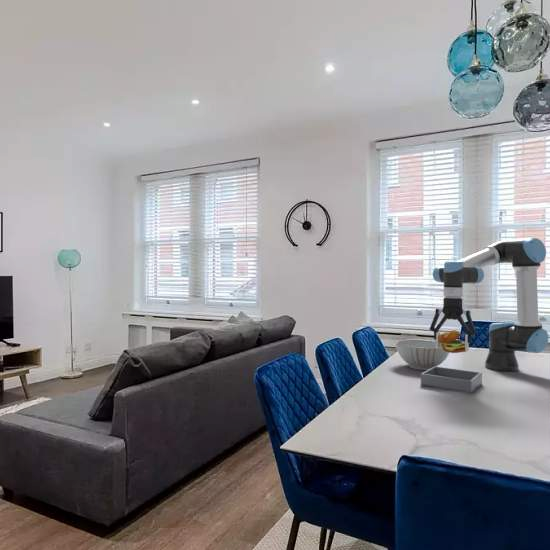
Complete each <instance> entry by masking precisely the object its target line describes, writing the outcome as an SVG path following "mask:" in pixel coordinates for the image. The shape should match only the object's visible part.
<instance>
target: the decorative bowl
mask: <svg viewBox="0 0 550 550" xmlns="http://www.w3.org/2000/svg"><path fill="white" fill-rule="evenodd" d="M395 349H396V350H397V353H398V355H399V356H400V358H401V359H402V360H403V361H404V362H405V363H407V365H409V368H411V369H414V370H420V371H427V370H429V369H431V368H432V367H434V366H436V367H439V365H441V364H442V363H444V362H445V361H446V359H447V358H448V356H450V355H449V354H450V352H446V351H444V350H443V348H442V347H441V343H440V347H439V348H436V340H429V339H401V340H399V339H398V340H397V341H395Z"/></svg>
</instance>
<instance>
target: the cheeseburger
mask: <svg viewBox="0 0 550 550" xmlns="http://www.w3.org/2000/svg"><path fill="white" fill-rule="evenodd" d="M461 336H462V335H461V333H460V332H459V331H458V330H454V329H453V330H451V331H448V332H447V331H446V332H443V333H440V335H439V338H438V341H439V343H441V347H442V348H443V350H444V351H446V352H450V353H451V354H459V353H467V351H465V341H462V339H459V338H460V337H461ZM450 353H449V354H450Z"/></svg>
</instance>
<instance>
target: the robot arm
mask: <svg viewBox="0 0 550 550" xmlns="http://www.w3.org/2000/svg"><path fill="white" fill-rule="evenodd" d="M546 257H547V249H546V246H545V244H544V243H543V241H542V240H541V239H539V238H537V237H524V238H522V237H521V238H507V239H503V240H500V241H497V242H494V243H492V244H490V245H487V246H485V247H483V248H482V250H480V251H478V252H476V253H473V254H471V255H469V256H467V257H465V258H461V259H460V260H455V261H453V260H451V261H450V260H447V261H445V262H444V264H443V266H442V265H440V266H436V267H434V268H433V271H432V277H433V280H434V281H435V282H437V283H443V297H444V298H443V301H442V302H443V303H442V305H443V307H442V308H436V309H435V310H434V311H435V314H434V317H433V319H432V320H431V321H432V322H431V324H430V327H429V330H430V331H432V332H433V340H434V341H436V348H439V347H440V343H439V341H438V338H439V335H440V334H441V332H440V330H441V327H443V325H444V324H445V323H446V321H447V320H455V321H456V320H457V321H458V322H459V325H460V326H461V327H462V328H463V330H464V331H465V333H466V335H465V337H464V340H465V341H464V342H465V351H466V352H468V351H470V349H469V348H470V347H469V346H470V345H469V344H471V343H472V336H473V335H475V334H477V330H476V327H475V324H474V321H473V319H472V316H471V310H469V309H468V310H464V308H463V298H462V297H463V296H464V295H463V293H464V292H463V290H464V288H463V287H464V286H463V285H464V284H480V283H482V281H483V280H484V277H485V273H484V270H483V268H485V267H487V266H489V265H490V266H495V265H497V264H509V263H510V264H511V265H512V266H511V268H513V269H514V270H515V275H516V276H515V277H516V278H515V279H516V281H515V283H516V309H517V310H516V311H517V314H516V315H517V320H516V321H515V322H492V323H491V324H489V329H488V339H489V340H488V354H487V356H486V358H485V361H484V368H486V369H489V370H494V371H501V372H517V371H519V368H520V366H519V363H518V359H517V357H516V354H515V353H516V351H521V352H525V353H526V352H527V353H528V354H529V353H531V354H540V353H541V352H543V351H544V350H545V349H546V347H547V345H548V344H549V333H548V331H547V330H546V329H544V328H543V323H541V322H540V321H539V306H538V305H539V301H538V300H539V299H538V298H539V296H538V269H540V267H541V263H543V262H544V261H545V260H546ZM441 314H443V317H442V318H441V320H440V321H439V323H438V320H439V317H440V316H441ZM463 314H464V316H465V317H466V321H467V323H468V325H467V324H466V322H465V320H464V319H463V317H462V315H463ZM437 323H438V324H437ZM436 324H437V326H436Z"/></svg>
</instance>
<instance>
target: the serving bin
mask: <svg viewBox="0 0 550 550" xmlns="http://www.w3.org/2000/svg"><path fill="white" fill-rule="evenodd" d="M482 379H483V372H479V371H471V370H464V369H457V368H449V367H442V366H434V367H432V368H431V369H429V370H424V371H423V372H421V373H420V387H421V386H422V387H427V388H433V389H438V390H446V391H453V392H459V393H464V394H470V395H471V394H473V393H474V392H475V391H476V390H478V389H479V387H480V386H482V385H483V383H482V382H483V380H482Z"/></svg>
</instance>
